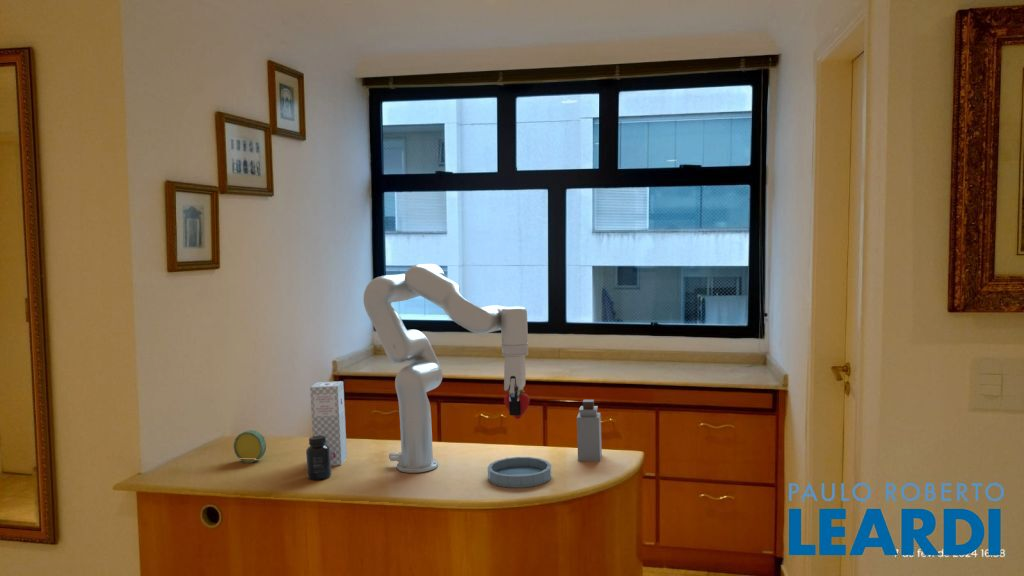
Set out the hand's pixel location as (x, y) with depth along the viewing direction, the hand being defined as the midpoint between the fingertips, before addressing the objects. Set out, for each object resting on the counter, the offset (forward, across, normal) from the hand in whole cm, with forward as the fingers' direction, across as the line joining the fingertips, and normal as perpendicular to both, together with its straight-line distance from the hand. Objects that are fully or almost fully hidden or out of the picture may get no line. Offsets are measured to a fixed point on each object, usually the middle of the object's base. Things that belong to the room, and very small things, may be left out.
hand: (517, 411), depth 204 cm
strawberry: (+2, 0, 0) cm, 2 cm away
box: (+20, -12, -63) cm, 67 cm away
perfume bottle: (+19, -20, +19) cm, 34 cm away
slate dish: (+19, 0, 0) cm, 19 cm away
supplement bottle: (+20, +3, -60) cm, 63 cm away
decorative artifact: (+20, -13, -90) cm, 93 cm away
